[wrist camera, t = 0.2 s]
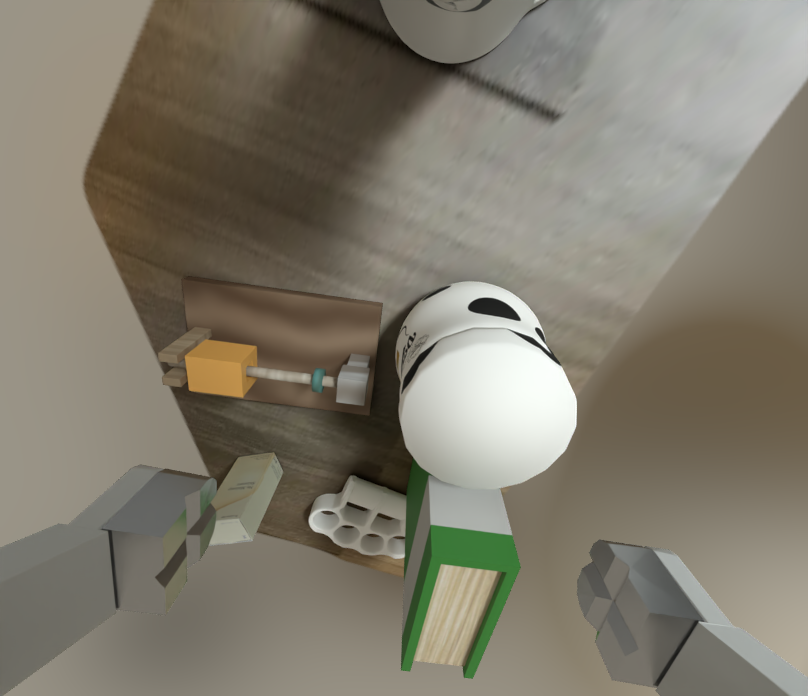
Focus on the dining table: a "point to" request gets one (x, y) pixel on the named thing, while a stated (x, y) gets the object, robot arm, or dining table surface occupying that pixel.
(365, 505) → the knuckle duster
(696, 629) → the robot arm
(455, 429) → the milk container
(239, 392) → the marker sleeve
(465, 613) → the hardback book
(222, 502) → the skincare box
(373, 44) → the dining table surface
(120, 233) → the dining table surface
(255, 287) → the board
